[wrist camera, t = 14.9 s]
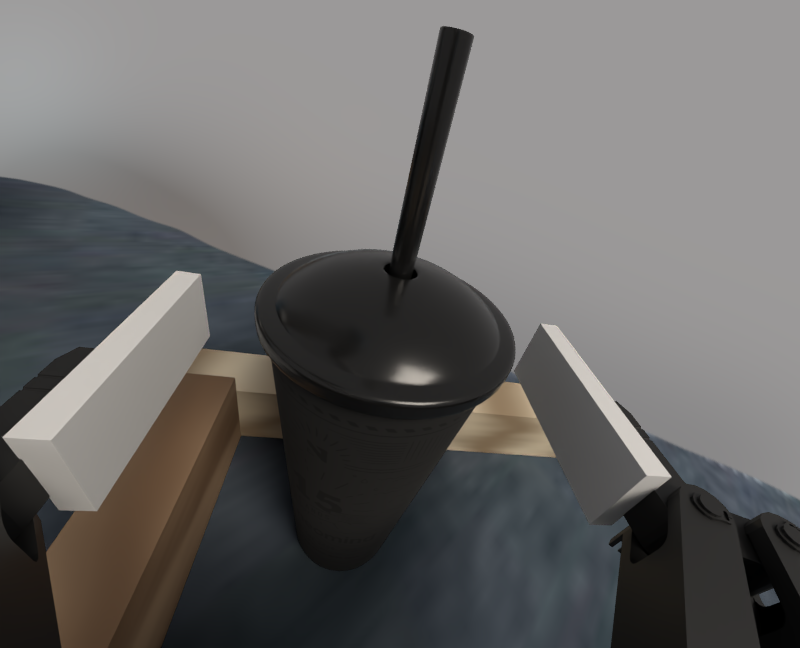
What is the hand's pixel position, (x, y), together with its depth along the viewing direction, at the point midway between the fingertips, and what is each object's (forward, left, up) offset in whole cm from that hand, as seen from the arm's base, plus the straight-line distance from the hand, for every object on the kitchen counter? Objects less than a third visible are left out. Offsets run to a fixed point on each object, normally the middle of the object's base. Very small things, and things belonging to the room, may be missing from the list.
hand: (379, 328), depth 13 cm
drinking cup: (0, -2, -11) cm, 12 cm away
